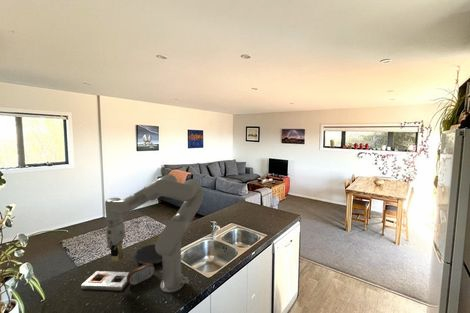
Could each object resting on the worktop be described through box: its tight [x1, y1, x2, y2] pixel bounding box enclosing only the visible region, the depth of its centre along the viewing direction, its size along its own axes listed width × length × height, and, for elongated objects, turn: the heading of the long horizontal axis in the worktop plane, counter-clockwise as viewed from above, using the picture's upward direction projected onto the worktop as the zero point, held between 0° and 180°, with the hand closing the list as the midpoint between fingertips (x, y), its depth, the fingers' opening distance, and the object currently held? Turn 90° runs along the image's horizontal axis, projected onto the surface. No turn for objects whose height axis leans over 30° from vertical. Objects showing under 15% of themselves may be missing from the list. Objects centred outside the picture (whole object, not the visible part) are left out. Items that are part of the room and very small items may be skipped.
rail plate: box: [80, 270, 130, 291], centre depth 123 cm, size 22×12×2 cm, turn 87°
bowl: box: [133, 243, 163, 266], centre depth 145 cm, size 22×22×5 cm
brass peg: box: [110, 241, 124, 262], centre depth 120 cm, size 4×4×9 cm
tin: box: [127, 263, 156, 286], centre depth 123 cm, size 15×3×8 cm, turn 135°
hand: (116, 253), depth 121 cm, fingers closed on brass peg, 4 cm apart
